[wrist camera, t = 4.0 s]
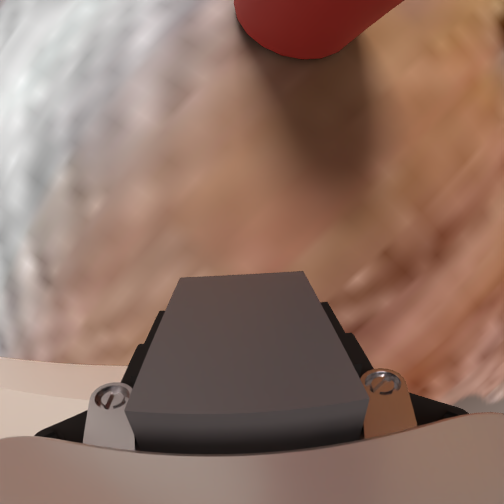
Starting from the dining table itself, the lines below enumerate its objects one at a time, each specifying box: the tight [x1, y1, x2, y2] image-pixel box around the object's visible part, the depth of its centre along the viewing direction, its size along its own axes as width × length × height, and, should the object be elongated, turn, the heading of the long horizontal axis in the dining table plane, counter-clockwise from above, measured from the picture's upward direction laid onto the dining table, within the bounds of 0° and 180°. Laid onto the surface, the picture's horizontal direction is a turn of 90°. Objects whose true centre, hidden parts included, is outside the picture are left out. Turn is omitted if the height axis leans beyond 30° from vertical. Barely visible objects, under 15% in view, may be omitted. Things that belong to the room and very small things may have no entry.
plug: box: [124, 271, 370, 454], centre depth 10 cm, size 5×5×8 cm
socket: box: [0, 357, 128, 439], centre depth 19 cm, size 18×18×4 cm
